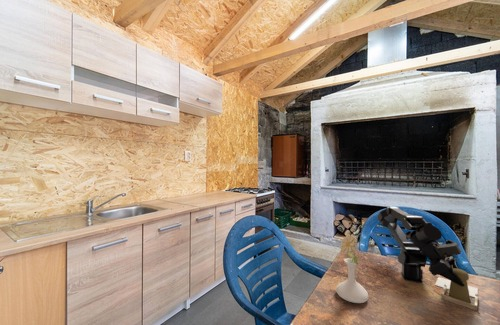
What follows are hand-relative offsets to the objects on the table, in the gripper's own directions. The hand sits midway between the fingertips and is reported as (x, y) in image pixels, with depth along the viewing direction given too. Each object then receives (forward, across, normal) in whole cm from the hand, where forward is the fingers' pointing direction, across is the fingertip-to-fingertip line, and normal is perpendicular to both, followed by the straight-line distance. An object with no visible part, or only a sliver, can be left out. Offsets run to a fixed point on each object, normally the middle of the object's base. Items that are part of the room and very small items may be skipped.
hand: (464, 283), depth 78 cm
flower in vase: (-15, -29, +25) cm, 41 cm away
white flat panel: (+2, +10, +7) cm, 12 cm away
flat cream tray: (+4, 0, +6) cm, 7 cm away
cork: (+4, 0, +6) cm, 7 cm away
